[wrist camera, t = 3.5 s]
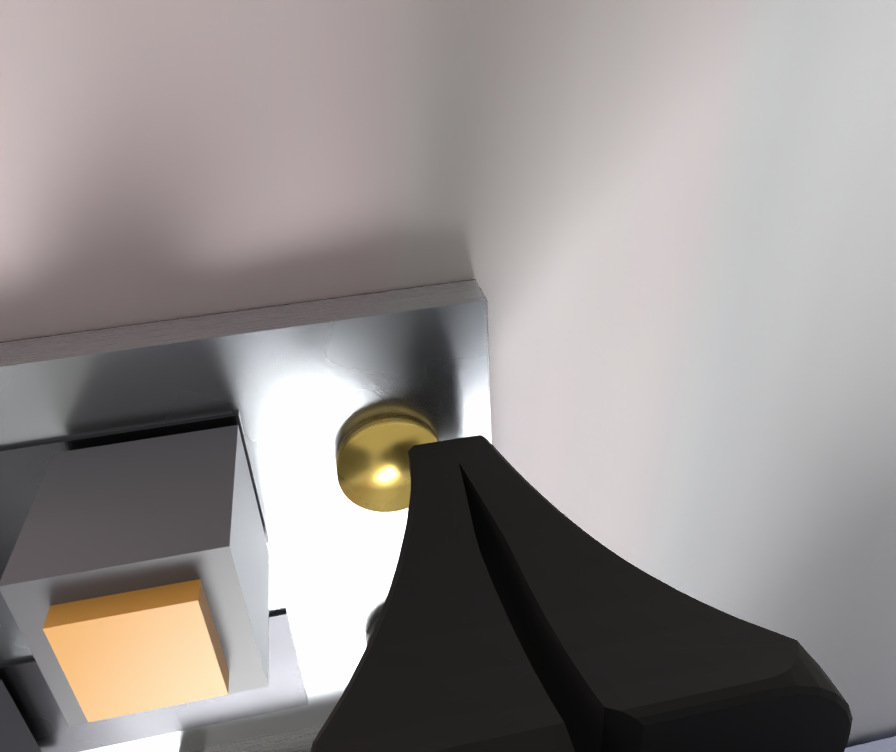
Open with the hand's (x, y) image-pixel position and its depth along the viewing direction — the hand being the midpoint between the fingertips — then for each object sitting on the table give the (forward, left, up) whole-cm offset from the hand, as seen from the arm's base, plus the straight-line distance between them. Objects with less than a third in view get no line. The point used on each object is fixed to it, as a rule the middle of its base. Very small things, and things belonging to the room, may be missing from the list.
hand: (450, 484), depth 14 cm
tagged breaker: (+5, 0, -1) cm, 5 cm away
